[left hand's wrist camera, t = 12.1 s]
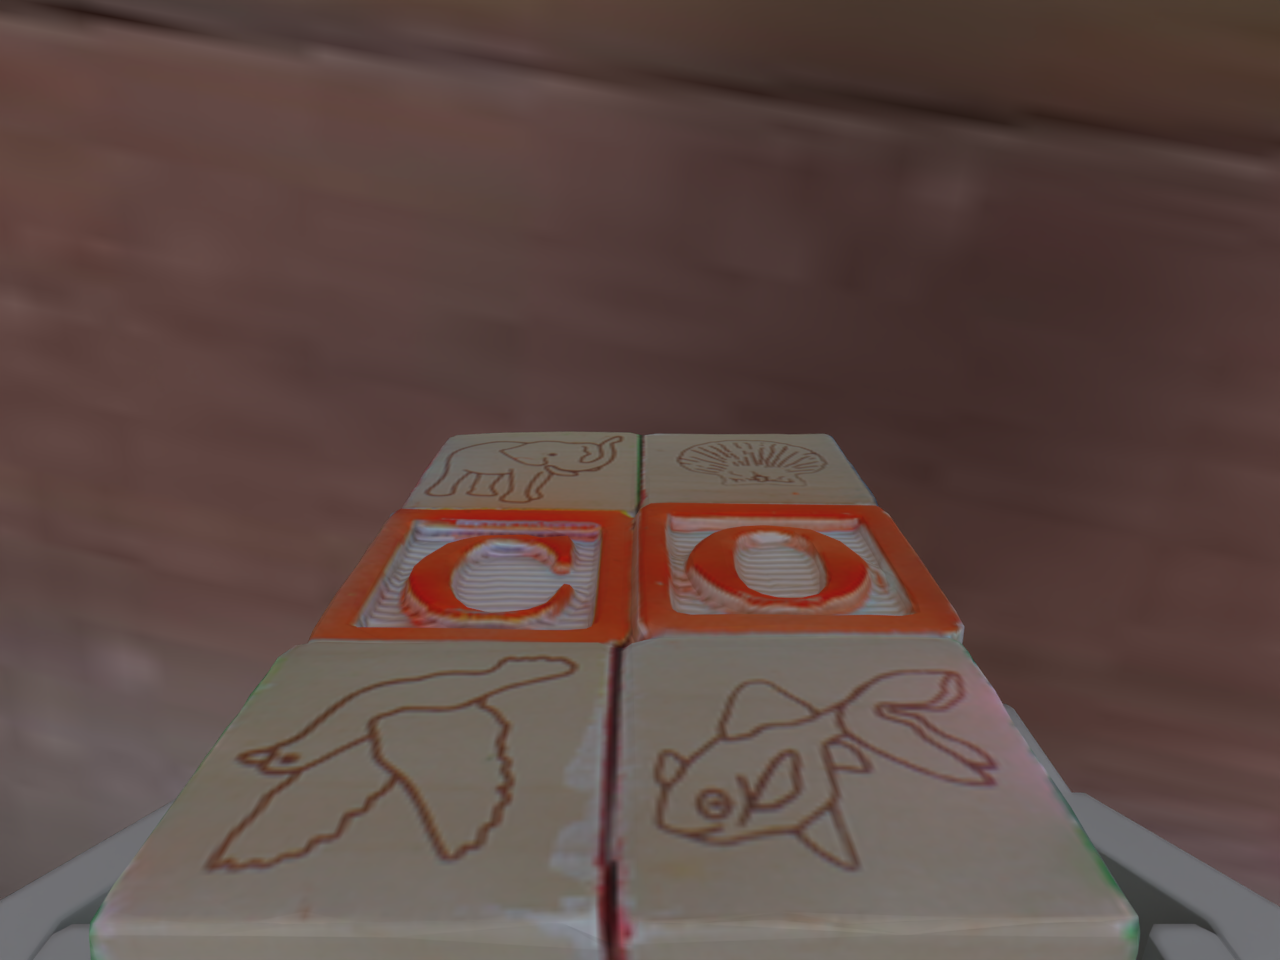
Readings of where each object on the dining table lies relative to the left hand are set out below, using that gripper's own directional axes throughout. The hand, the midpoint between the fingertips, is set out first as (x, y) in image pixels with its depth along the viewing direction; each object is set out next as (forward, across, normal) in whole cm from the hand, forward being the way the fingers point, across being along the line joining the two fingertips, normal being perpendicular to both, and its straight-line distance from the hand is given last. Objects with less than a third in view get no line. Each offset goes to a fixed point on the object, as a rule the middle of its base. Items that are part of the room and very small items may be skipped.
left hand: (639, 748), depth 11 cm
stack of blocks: (+4, 0, -8) cm, 9 cm away
